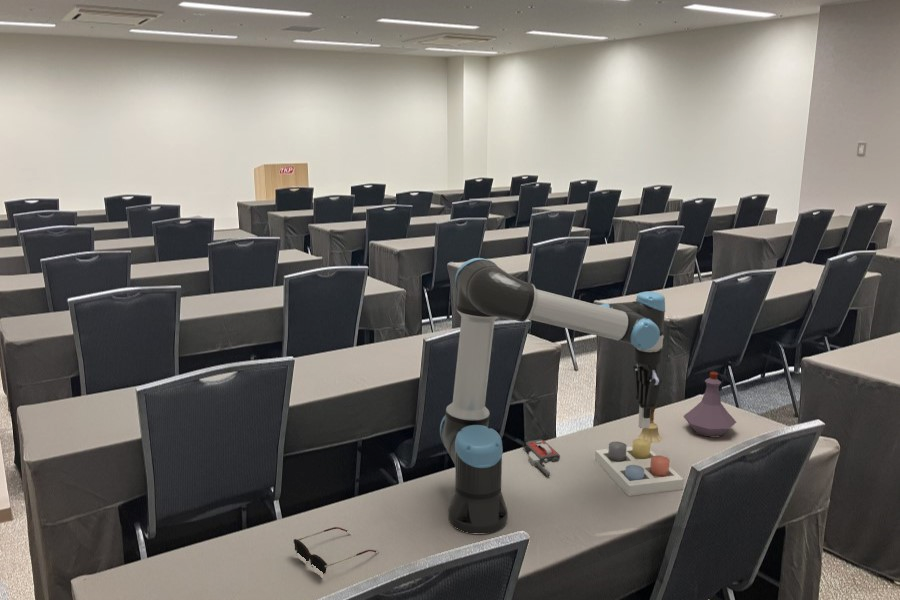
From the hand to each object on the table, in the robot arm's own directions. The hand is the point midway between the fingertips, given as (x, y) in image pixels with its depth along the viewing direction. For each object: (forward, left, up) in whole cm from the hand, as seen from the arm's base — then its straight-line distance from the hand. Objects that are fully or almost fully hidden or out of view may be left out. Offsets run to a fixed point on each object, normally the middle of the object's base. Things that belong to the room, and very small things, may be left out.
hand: (644, 426), depth 214 cm
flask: (+35, +21, -15) cm, 43 cm away
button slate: (-6, -8, -13) cm, 16 cm away
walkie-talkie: (-25, +13, -15) cm, 32 cm away
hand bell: (+13, +19, -15) cm, 27 cm away
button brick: (+1, -8, -11) cm, 13 cm away
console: (-2, -2, -14) cm, 15 cm away
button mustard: (+1, +3, -11) cm, 11 cm away
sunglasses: (-89, -21, -15) cm, 92 cm away
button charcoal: (-6, +3, -11) cm, 13 cm away
